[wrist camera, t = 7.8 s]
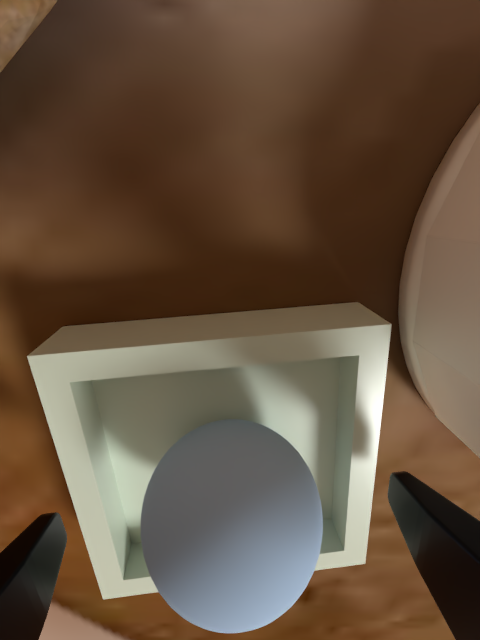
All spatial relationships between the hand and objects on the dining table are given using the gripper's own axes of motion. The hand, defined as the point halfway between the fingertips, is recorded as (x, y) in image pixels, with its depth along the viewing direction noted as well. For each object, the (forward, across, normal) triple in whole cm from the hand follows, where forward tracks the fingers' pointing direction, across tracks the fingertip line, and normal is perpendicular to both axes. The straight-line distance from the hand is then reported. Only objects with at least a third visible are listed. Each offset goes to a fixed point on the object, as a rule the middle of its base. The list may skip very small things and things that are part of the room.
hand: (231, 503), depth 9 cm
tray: (+3, 0, 0) cm, 3 cm away
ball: (0, 0, 0) cm, 0 cm away
